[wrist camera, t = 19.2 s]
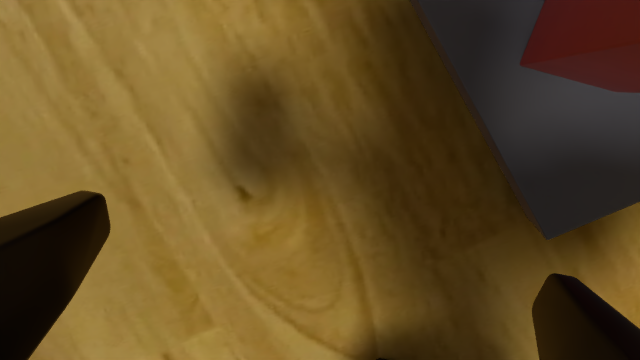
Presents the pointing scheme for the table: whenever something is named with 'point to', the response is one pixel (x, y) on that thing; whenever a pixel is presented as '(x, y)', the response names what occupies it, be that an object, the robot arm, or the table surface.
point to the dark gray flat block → (538, 115)
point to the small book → (588, 43)
